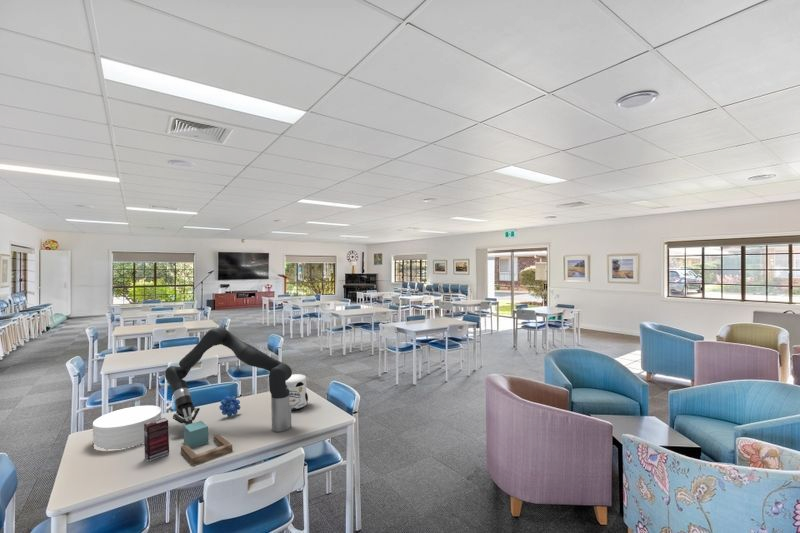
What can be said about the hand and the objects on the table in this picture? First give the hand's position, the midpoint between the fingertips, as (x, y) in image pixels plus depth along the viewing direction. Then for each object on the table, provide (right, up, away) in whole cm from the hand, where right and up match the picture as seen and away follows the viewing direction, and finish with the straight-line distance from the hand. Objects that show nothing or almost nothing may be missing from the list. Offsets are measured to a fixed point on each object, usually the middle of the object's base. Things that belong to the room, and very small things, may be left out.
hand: (190, 428), depth 187 cm
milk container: (+42, -4, +37) cm, 56 cm away
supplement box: (-4, -4, -20) cm, 21 cm away
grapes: (+9, -4, +24) cm, 26 cm away
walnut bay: (+17, -4, -17) cm, 24 cm away
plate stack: (-31, -5, 0) cm, 31 cm away
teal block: (+6, -4, -6) cm, 10 cm away
